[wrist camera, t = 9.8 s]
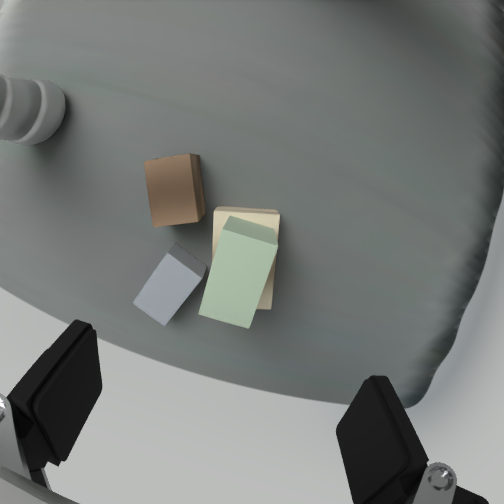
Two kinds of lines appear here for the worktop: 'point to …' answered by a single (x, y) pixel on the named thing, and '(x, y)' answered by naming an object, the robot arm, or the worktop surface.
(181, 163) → the walnut brick
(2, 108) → the plastic bottle
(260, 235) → the sage brick
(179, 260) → the slate brick
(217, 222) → the birch brick
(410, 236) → the worktop surface
